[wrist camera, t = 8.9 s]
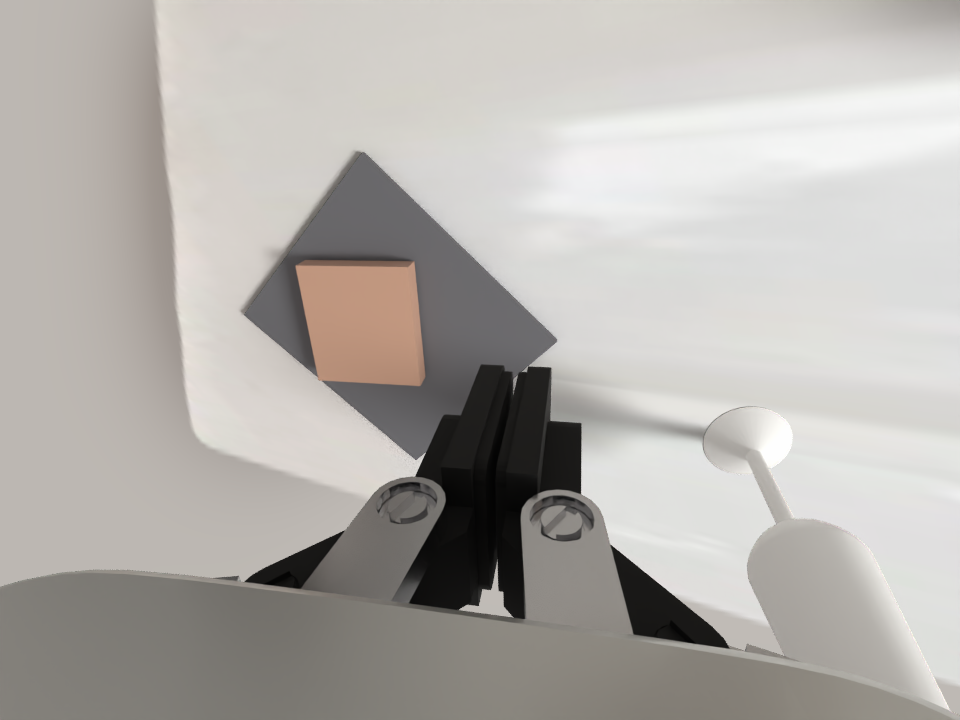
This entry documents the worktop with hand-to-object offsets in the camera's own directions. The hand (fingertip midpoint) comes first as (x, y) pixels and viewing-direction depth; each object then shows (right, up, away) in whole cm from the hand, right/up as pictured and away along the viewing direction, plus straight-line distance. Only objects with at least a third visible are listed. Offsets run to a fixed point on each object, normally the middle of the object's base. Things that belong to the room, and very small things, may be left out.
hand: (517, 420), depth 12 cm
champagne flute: (+21, -5, +29) cm, 36 cm away
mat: (-8, +4, +30) cm, 32 cm away
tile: (-6, +4, +28) cm, 29 cm away
